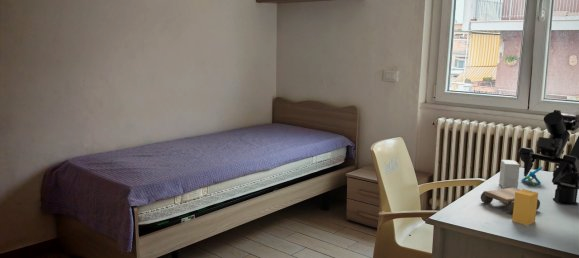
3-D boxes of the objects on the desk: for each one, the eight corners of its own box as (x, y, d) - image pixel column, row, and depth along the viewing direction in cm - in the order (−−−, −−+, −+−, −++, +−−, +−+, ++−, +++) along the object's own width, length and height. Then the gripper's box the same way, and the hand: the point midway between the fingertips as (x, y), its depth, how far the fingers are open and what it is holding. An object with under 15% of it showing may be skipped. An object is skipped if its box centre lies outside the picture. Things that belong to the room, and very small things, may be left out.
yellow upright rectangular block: (520, 217, 169) (523, 189, 167) (534, 221, 165) (538, 192, 164) (512, 221, 166) (515, 192, 164) (527, 225, 162) (530, 195, 160)
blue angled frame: (525, 174, 219) (543, 162, 212) (535, 185, 217) (553, 173, 210) (515, 182, 212) (533, 170, 205) (525, 193, 210) (543, 181, 203)
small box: (517, 190, 201) (520, 164, 199) (502, 189, 202) (505, 163, 200) (512, 184, 209) (515, 160, 207) (498, 183, 210) (501, 159, 208)
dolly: (508, 198, 189) (509, 186, 188) (539, 210, 177) (540, 196, 176) (480, 202, 184) (481, 189, 183) (510, 215, 171) (511, 201, 170)
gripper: (523, 124, 175) (504, 159, 170) (580, 132, 161) (562, 170, 156) (531, 143, 182) (513, 178, 177) (587, 153, 168) (569, 190, 163)
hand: (538, 178), depth 168 cm, fingers open, 9 cm apart
